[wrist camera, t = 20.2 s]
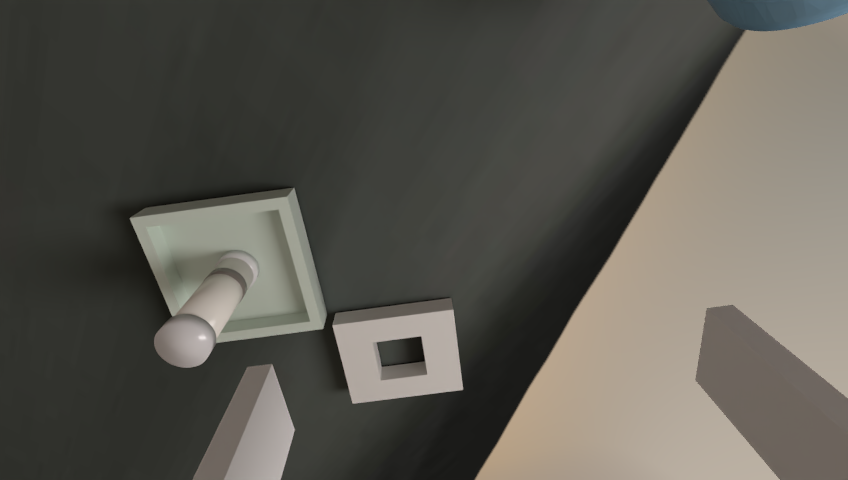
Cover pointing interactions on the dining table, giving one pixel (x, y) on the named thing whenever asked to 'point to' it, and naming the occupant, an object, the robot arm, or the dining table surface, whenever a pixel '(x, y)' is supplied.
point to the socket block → (391, 323)
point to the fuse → (207, 311)
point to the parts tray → (237, 230)
